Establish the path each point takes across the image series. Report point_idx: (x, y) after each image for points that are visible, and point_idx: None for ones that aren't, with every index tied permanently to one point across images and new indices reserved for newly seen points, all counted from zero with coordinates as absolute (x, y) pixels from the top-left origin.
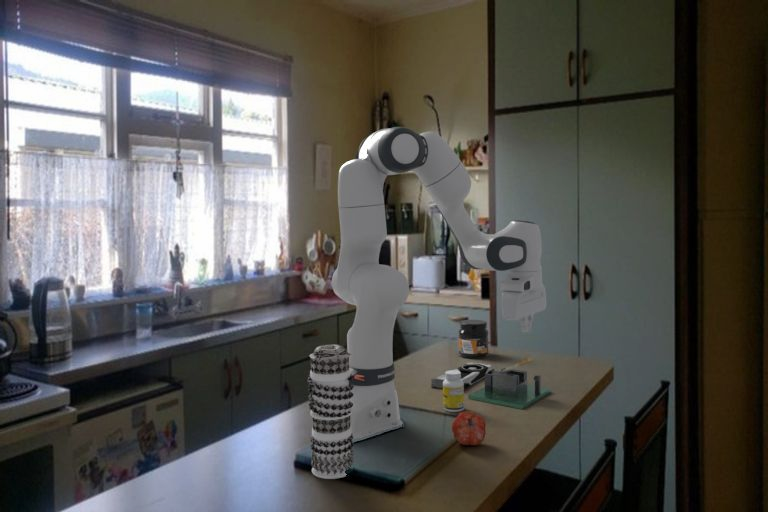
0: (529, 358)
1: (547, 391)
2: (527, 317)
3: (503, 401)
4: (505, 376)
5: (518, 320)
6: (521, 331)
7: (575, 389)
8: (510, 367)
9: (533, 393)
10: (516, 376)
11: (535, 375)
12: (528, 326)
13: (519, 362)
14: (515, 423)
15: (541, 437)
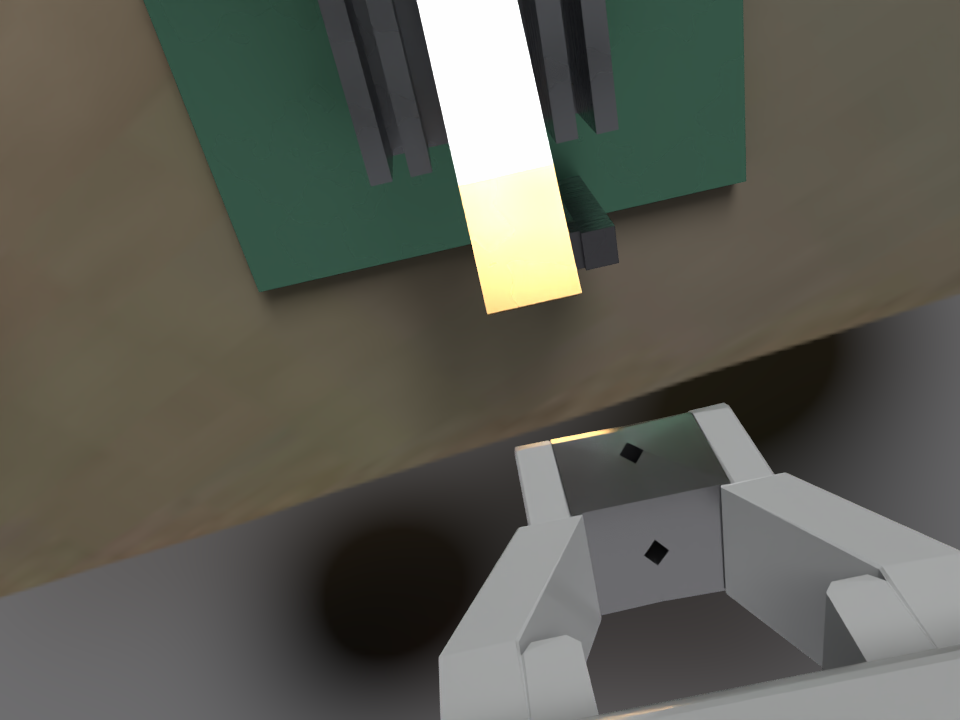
0: (546, 300)
1: (682, 193)
2: (825, 663)
3: (205, 144)
4: (337, 64)
5: (444, 655)
6: (516, 459)
7: (899, 246)
8: (434, 70)
9: None
10: (384, 181)
11: (592, 231)
12: (637, 590)
13: (464, 205)
14: (36, 409)
15: (28, 586)
